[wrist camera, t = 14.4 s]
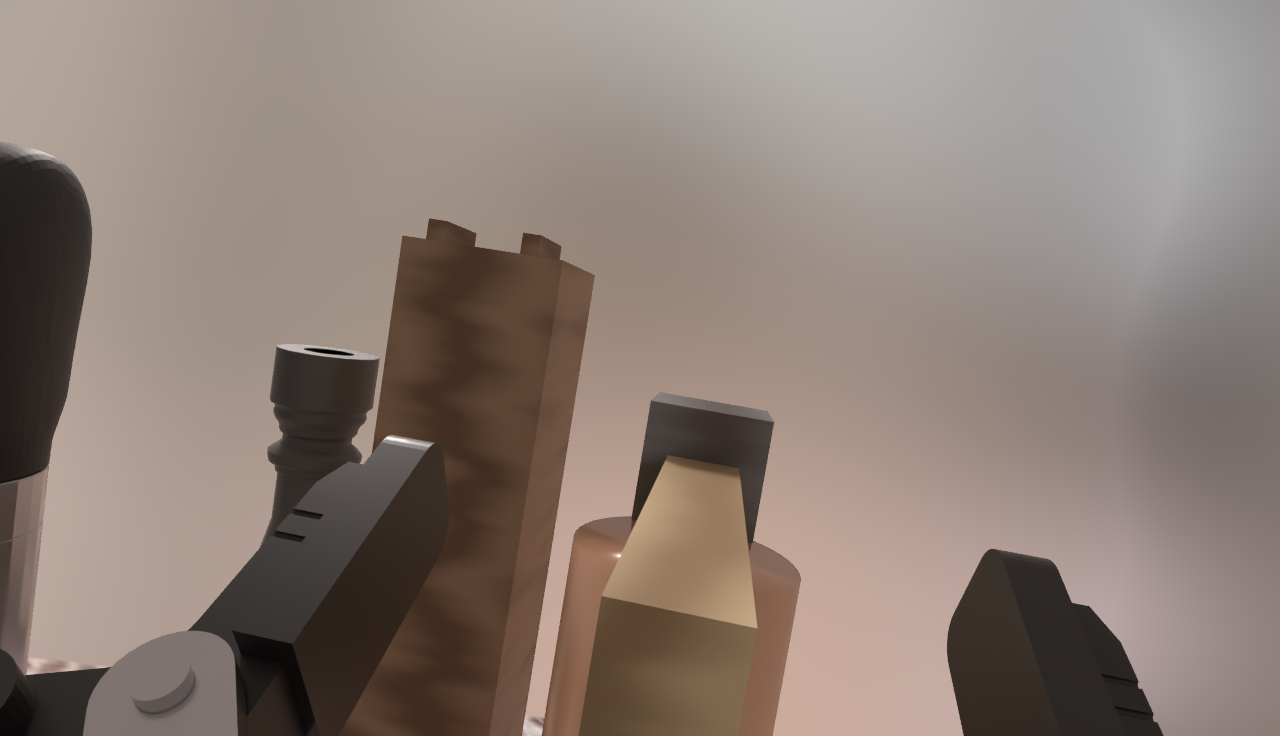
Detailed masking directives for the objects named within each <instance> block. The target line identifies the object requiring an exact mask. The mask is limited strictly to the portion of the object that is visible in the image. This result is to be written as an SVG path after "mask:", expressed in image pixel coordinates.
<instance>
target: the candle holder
mask: <svg viewBox="0 0 1280 736" xmlns="http://www.w3.org/2000/svg"><path fill="white" fill-rule="evenodd" d="M378 366H379V358H378V357H377V356H374V355H371V354H367V353H362V352H357V351H352V350H346V349H339V348H332V347H323V346H314V345H300V344H281V345H277V348H276V355H275V363H274V371H273V379H272V386H271V394H270V399H271V401H272V402H273V403H274V404H275V407H274V414H275V417H276V419H277V420H278V421H279V428H280V430H281V431H282V432H283V437H282V439H280V440H279V441H277V442H275V443H273V444H272V445H270V446H269V447H268V451H267V453H268V459H269V461H270V462H271V463H272V464H274V465H275V470H276V471H277V472H278V474H277V480H276V488H275V496H274V503H273V511H272V518H271V521H270V523H269V526H268V528H267V531H266V533H265V536H264V539H263V541H262V543H261V546H262V545H263V544H264V543H265V541H266V540H267V539H268V538H269V537H270V536H274V534H275V530H276V529H277V527H278V526H279V525H280V524H281V523H282V522H283V520H284V519H285V518H286V517H287V516H288V515H289V514H292V513H293V511H294V508H295V506H296V505H297V504H298V503H299V502H300V500H301V499H302V498H303V497H304V496H305V495H306V493H307V492H308V491H309V490H310V489H311V488H312V486H313V485H314V484H315V483H316V482H317V481H319V480H320V479H322V478H323V477H325V476H327V475H328V474H330V473H331V472H333V471H335V470H336V469H338V468H339V467H341V466H343V465H344V464H346V463H347V462H352V463H358V464H360V462H361V458H362V455H361V453H360V452H359V451H358V449H357V448H356V447H355V446H354V445H352V444H351V442H352V438H353V437H354V436H355V435H356V434H357V432H358V429H359V428H360V426H361V425H363V424H364V422H365V421H366V413H367V412H368V411H369V410H371V409H372V408H373V402H374V394H375V386H376V380H377V372H378ZM261 546H260V547H261ZM259 549H260V548H259Z"/></svg>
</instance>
